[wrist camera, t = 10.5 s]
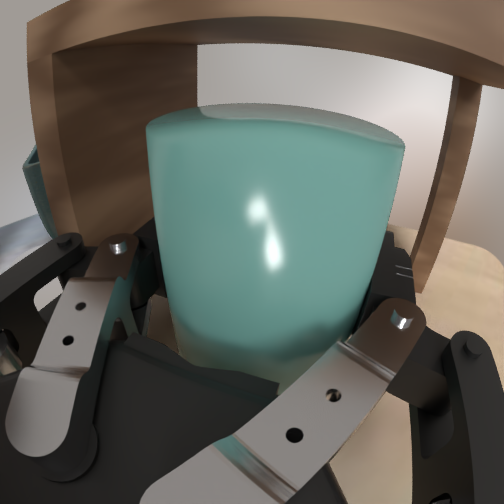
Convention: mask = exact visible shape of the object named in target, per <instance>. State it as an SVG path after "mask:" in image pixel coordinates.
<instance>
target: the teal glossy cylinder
mask: <svg viewBox="0 0 504 504" xmlns="http://www.w3.org/2000/svg"><path fill="white" fill-rule="evenodd" d="M146 139H147V152H148V163H149V173H150V183H151V192H152V200H153V209H154V216H155V224H156V231H157V238H158V245H159V251H160V258H161V264H162V270H163V276H164V282H165V287H166V293H167V298H168V303H169V309H170V314H171V319H172V324H173V328H174V333H175V338H176V342H177V347H178V351H179V356H181V357H182V358H184V359H185V360H187V361H188V362H190V363H191V364H193V365H195V366H199V367H206V368H215V369H223V370H233V371H240V372H244V373H247V374H250V375H253V376H257V377H260V378H263V379H267V380H270V381H274V382H277V383H280V384H279V389H278V394H277V395H278V396H280V395H281V394H282V393H283V392H284V391H285V390H286V389H287V388H289V387H290V386H291V385H292V384H293V383H294V382H295V381H296V380H297V379H298V378H299V377H301V376H302V375H303V374H304V373H305V372H306V371H307V370H308V369H309V368H310V367H311V366H312V365H313V364H314V363H315V362H316V361H318V360H319V359H320V358H321V357H322V356H323V355H324V354H325V353H326V352H327V351H328V350H329V349H330V348H331V347H332V346H333V345H334V344H335V343H336V342H338V341H342V342H344V343H346V342H347V341H348V340H349V339H350V338H351V335H352V332H353V329H354V327H355V324H356V321H357V318H358V316H359V313H360V310H361V307H362V304H363V302H364V299H365V296H366V293H367V290H368V287H369V284H370V281H371V278H372V275H373V272H374V269H375V266H376V263H377V259H378V256H379V253H380V249H381V246H382V242H383V239H384V235H385V232H386V228H387V224H388V220H389V217H390V213H391V209H392V205H393V201H394V196H395V193H396V188H397V184H398V179H399V175H400V170H401V166H402V161H403V156H404V151H405V144H404V142H403V141H402V139H400V138H399V137H398V136H397V135H395V134H394V133H392V132H390V131H388V130H387V129H384V128H382V127H380V126H378V125H375V124H373V123H370V122H367V121H364V120H361V119H358V118H355V117H351V116H348V115H344V114H339V113H335V112H331V111H326V110H320V109H314V108H308V107H300V106H291V105H280V104H260V103H237V104H219V105H208V106H201V107H194V108H188V109H183V110H179V111H175V112H171V113H168V114H165V115H162V116H160V117H158V118H156V119H154V120H152V121H151V122H150V123H149V124H148V125H147V126H146Z"/></svg>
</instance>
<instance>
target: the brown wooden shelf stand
mask: <svg viewBox="0 0 504 504" xmlns="http://www.w3.org/2000/svg"><path fill="white" fill-rule="evenodd" d="M225 43H265V44H287V45H302V46H313V47H322V48H331V49H338V50H346V51H352V52H358V53H365V54H370V55H375V56H380V57H385V58H390V59H394V60H398V61H403V62H407V63H411V64H415V65H419V66H422V67H426V68H429V69H433V70H436V71H440V72H443V73H446V74H449V75H452V76H453V81H452V89H451V96H450V102H449V109H448V115H447V120H446V126H445V131H444V136H443V141H442V146H441V150H440V155H439V159H438V163H437V168H436V172H435V176H434V180H433V184H432V187H431V191H430V195H429V198H428V202H427V205H426V209H425V212H424V216H423V219H422V222H421V225H420V228H419V231H418V234H417V237H416V240H415V243H414V246H413V249H412V252H411V255H410V258H411V262H412V271H413V279H414V287H415V292H418V293H422V291H423V289H424V287H425V284H426V282H427V280H428V277H429V275H430V273H431V270H432V268H433V265H434V263H435V260H436V258H437V255H438V253H439V250H440V248H441V245H442V242H443V240H444V237H445V234H446V231H447V229H448V226H449V222H450V220H451V217H452V214H453V211H454V208H455V204H456V201H457V198H458V195H459V192H460V188H461V185H462V181H463V178H464V174H465V170H466V166H467V162H468V158H469V154H470V149H471V146H472V141H473V137H474V131H475V127H476V122H477V116H478V110H479V105H480V98H481V91H482V85H487V86H492V87H497V88H501V89H504V0H70V1H67V2H65V3H63V4H61V5H59V6H57V7H55V8H53V9H51V10H49V11H47V12H45V13H43V14H42V15H40V16H38V17H36V18H34V19H33V20H31V21H29V22H27V66H28V82H29V94H30V104H31V112H32V120H33V127H34V133H35V140H36V146H37V152H38V157H39V162H40V167H41V172H42V176H43V181H44V185H45V189H46V194H47V198H48V202H49V205H50V209H51V213H52V217H53V220H54V224H55V227H56V230H57V234H58V236H60V235H62V234H65V233H70V232H75V233H79V234H81V236H82V238H83V242H84V245H85V246H99V244H100V243H101V242H102V241H103V240H104V239H106V238H107V237H109V236H112V235H115V234H119V233H129V234H133V233H134V232H136V231H137V230H138V229H139V228H140V227H142V226H143V225H144V224H145V223H147V222H148V221H149V220H150V219H151V220H152V218H153V217H154V209H153V200H152V192H151V183H150V173H149V163H148V152H147V139H146V126H147V125H148V124H149V123H150V122H151V121H152V120H154V119H156V118H158V117H160V116H162V115H165V114H168V113H171V112H175V111H179V110H183V109H188V108H194V107H197V45H202V44H225Z"/></svg>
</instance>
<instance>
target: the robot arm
mask: <svg viewBox="0 0 504 504" xmlns="http://www.w3.org/2000/svg"><path fill="white" fill-rule="evenodd" d="M57 276H58V279H59V281H60V284H61V286H62V288H63V293H62V294H60V295H59V296H58V297H57V298H55V299H54V300H53V301H51V302H50V303H49V304H48V305H46V306H45V307H44V308H42V309H41V310H40V311H39V312H38V311H37V309H36V307H35V305H34V296H35V294H36V292H37V291H38V290H40V289H41V288H42V287H43V286H44V285H46V284H48V283H49V282H50V281H51V280H53V279H54V278H56V277H57ZM153 294H156V295H159V296H162V297H165V298H166V297H167V293H166V287H165V282H164V276H163V270H162V264H161V258H160V251H159V245H158V238H157V231H156V224H155V216H154V217H153V218H152V220H151V219H150V220H149V221H148V222H147V223H145V224H144V225H143V226H142V227H140V228H139V229H138V230H137V231H136V232H134V233H133V234H129V233H119V234H115V235H112V236H109V237H107V238H106V239H104V240H103V241H102V242H101V243H100V244H99V246H85V245H84V242H83V238H82V236H81V234H79V233H75V232H70V233H65V234H62V235H60V236H58V237H56V238H54V239H53V240H51V241H49V242H48V243H46V244H45V245H43V246H42V247H40V248H39V249H37V250H36V251H35V252H33V253H31V254H30V255H28V256H27V257H25V258H24V259H22V260H21V261H20V262H18V263H17V264H15V265H14V266H13V267H11V268H10V269H8V270H7V271H5V272H4V273H3V274H1V275H0V504H348V503H347V501H346V498H345V496H344V494H343V492H342V490H341V488H340V486H339V484H338V481H337V479H336V477H335V475H334V473H333V471H332V469H331V467H330V464H329V462H330V461H331V460H332V459H333V457H334V456H335V455H336V454H337V453H338V452H339V451H340V450H341V448H342V447H343V446H344V445H345V444H346V442H347V441H348V440H349V439H350V438H351V436H352V435H353V434H354V433H355V431H356V430H357V429H358V428H359V426H360V425H361V424H362V423H363V421H364V420H365V419H366V418H367V416H368V415H369V414H370V412H371V411H372V410H373V408H374V407H375V406H376V404H377V403H378V402H379V400H380V399H381V398H382V396H383V395H384V393H385V392H386V391H387V392H389V393H390V394H392V395H394V396H396V397H398V398H400V399H402V400H404V401H406V402H408V403H409V410H410V423H411V440H412V504H504V391H503V388H502V384H501V381H500V377H499V374H498V371H497V367H496V364H495V361H494V358H493V355H492V352H491V350H490V347H489V346H488V344H487V343H486V341H485V340H484V339H483V338H482V337H480V336H479V335H477V334H475V333H473V332H470V331H459V332H457V333H455V334H454V335H453V337H452V338H451V340H450V339H448V338H446V337H444V336H442V335H440V334H438V333H436V332H434V331H433V330H431V329H430V328H428V327H427V326H426V318H425V315H424V313H423V312H422V310H421V309H420V308H419V307H418V306H417V305H416V297H415V287H414V279H413V271H412V262H411V258H410V257H409V255H408V254H407V252H406V251H405V249H401V248H397V247H395V246H394V235H393V232H390V231H386V232H385V235H384V239H383V242H382V246H381V249H380V253H379V256H378V259H377V263H376V266H375V269H374V272H373V275H372V278H371V281H370V284H369V287H368V290H367V293H366V296H365V299H364V302H363V304H362V307H361V310H360V313H359V316H358V318H357V321H356V324H355V327H354V329H353V332H352V337H351V338H350V339H349V340H348V341H347V342H346V343H344V342H342V341H338V342H336V343H335V344H334V345H333V346H332V347H331V348H330V349H329V350H328V351H327V352H326V353H325V354H324V355H323V356H322V357H321V358H320V359H319V360H318V361H316V362H315V363H314V364H313V365H312V366H311V367H310V368H309V369H308V370H307V371H306V372H305V373H304V374H303V375H302V376H301V377H299V378H298V379H297V380H296V381H295V382H294V383H293V384H292V385H291V386H290V387H289V388H287V389H286V390H285V391H284V392H283V393H282V394H281V395H280V396H278V395H277V394H278V389H279V384H280V383H277V382H274V381H270V380H267V379H263V378H260V377H257V376H253V375H250V374H247V373H244V372H240V371H233V370H223V369H215V368H206V367H199V366H195V365H193V364H191V363H190V362H188V361H187V360H185V359H184V358H182V357H181V356H179V355H178V354H177V353H175V352H174V351H172V350H171V349H170V348H168V347H167V346H166V345H164V344H162V343H159V342H157V341H154V340H152V339H150V338H147V331H148V324H149V319H150V313H151V307H152V303H151V298H150V297H151V296H152V295H153ZM2 329H4V330H3V331H2Z"/></svg>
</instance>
